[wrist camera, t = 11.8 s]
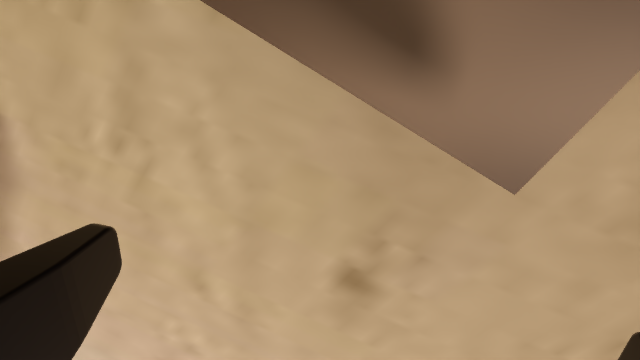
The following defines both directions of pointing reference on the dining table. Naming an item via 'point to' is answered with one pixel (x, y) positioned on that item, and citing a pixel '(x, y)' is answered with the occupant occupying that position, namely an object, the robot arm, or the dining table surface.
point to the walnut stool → (465, 67)
